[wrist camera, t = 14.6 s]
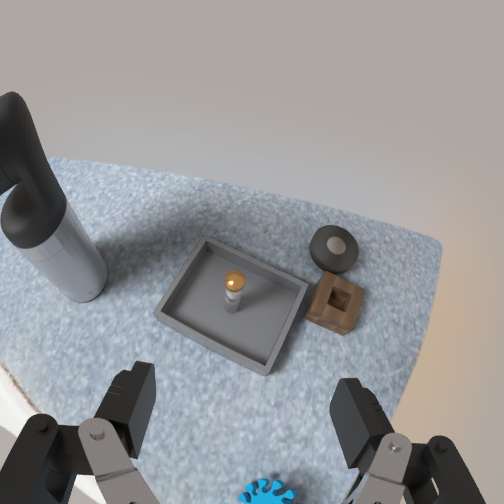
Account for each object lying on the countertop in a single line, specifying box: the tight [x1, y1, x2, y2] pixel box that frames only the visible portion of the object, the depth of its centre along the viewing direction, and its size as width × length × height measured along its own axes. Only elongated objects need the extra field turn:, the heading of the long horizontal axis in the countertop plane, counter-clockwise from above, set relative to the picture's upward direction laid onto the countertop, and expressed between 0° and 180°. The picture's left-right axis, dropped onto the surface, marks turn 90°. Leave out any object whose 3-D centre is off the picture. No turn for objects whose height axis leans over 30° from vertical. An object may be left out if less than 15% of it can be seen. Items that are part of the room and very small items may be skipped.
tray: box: [153, 235, 308, 376], centre depth 42 cm, size 18×15×4 cm
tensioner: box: [303, 225, 365, 336], centre depth 45 cm, size 11×16×5 cm
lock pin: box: [224, 270, 245, 314], centre depth 38 cm, size 2×2×10 cm
